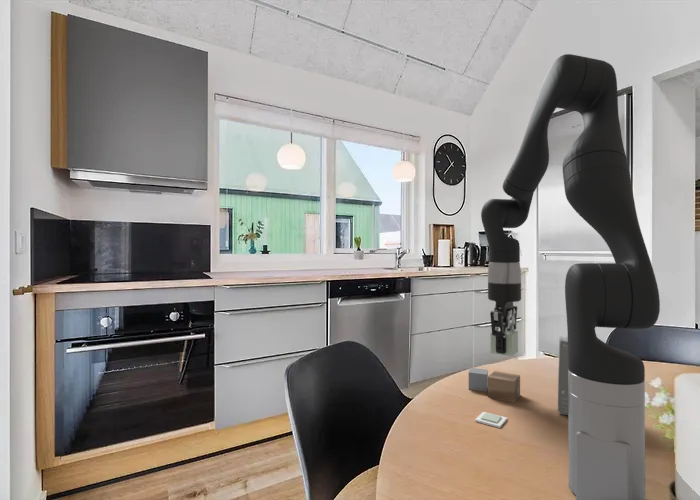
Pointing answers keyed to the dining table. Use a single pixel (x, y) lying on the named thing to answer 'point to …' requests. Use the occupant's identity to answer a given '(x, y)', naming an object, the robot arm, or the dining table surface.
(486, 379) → the slate block
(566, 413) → the skincare box
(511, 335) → the sage block
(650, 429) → the dining table surface
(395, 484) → the dining table surface
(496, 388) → the walnut block
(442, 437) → the dining table surface
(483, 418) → the tile
